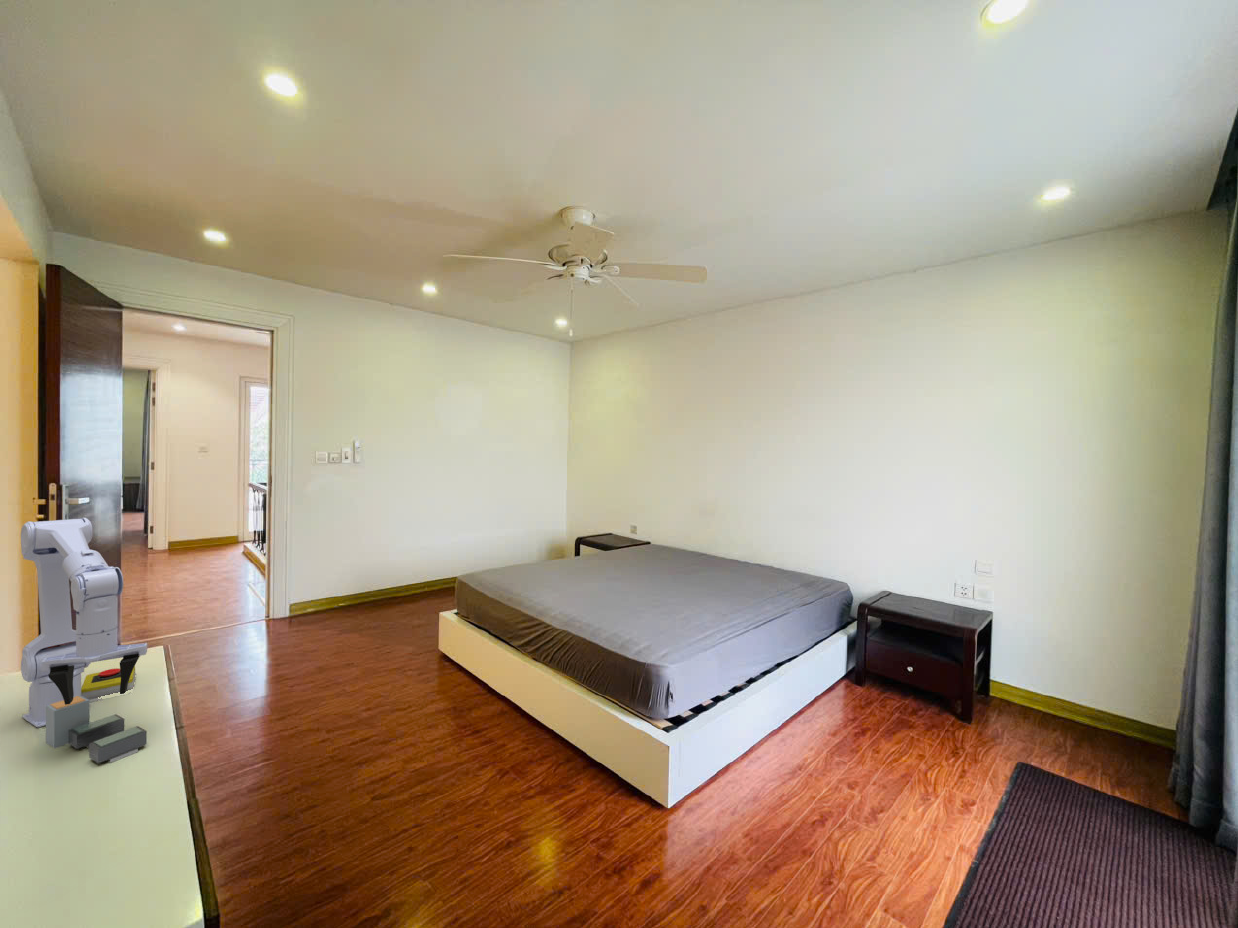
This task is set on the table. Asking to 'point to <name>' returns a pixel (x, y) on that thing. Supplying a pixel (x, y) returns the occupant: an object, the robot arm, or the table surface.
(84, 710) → the block
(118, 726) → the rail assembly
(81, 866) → the table surface
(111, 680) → the emergency button
